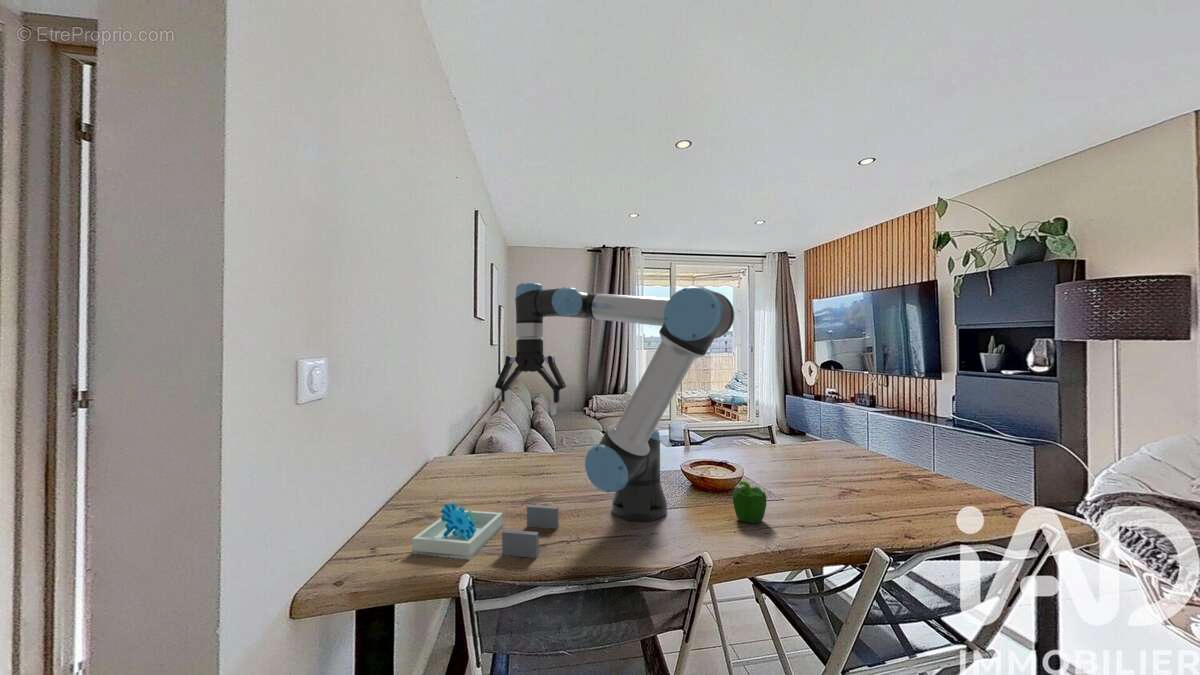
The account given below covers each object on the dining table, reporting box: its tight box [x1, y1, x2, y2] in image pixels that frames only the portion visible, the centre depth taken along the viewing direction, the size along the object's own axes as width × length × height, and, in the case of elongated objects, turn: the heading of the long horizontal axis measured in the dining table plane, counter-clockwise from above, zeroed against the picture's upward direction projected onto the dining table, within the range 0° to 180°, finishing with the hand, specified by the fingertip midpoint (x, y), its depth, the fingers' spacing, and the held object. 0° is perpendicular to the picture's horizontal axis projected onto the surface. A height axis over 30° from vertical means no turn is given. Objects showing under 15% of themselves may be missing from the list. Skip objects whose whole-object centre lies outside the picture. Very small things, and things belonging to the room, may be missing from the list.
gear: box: [440, 502, 476, 540], centre depth 105 cm, size 11×6×10 cm
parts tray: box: [411, 509, 504, 561], centre depth 105 cm, size 14×17×4 cm
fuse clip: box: [501, 504, 560, 559], centre depth 104 cm, size 8×16×5 cm, turn 168°
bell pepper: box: [732, 480, 767, 524], centre depth 114 cm, size 8×8×10 cm
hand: (530, 414), depth 123 cm, fingers open, 13 cm apart
